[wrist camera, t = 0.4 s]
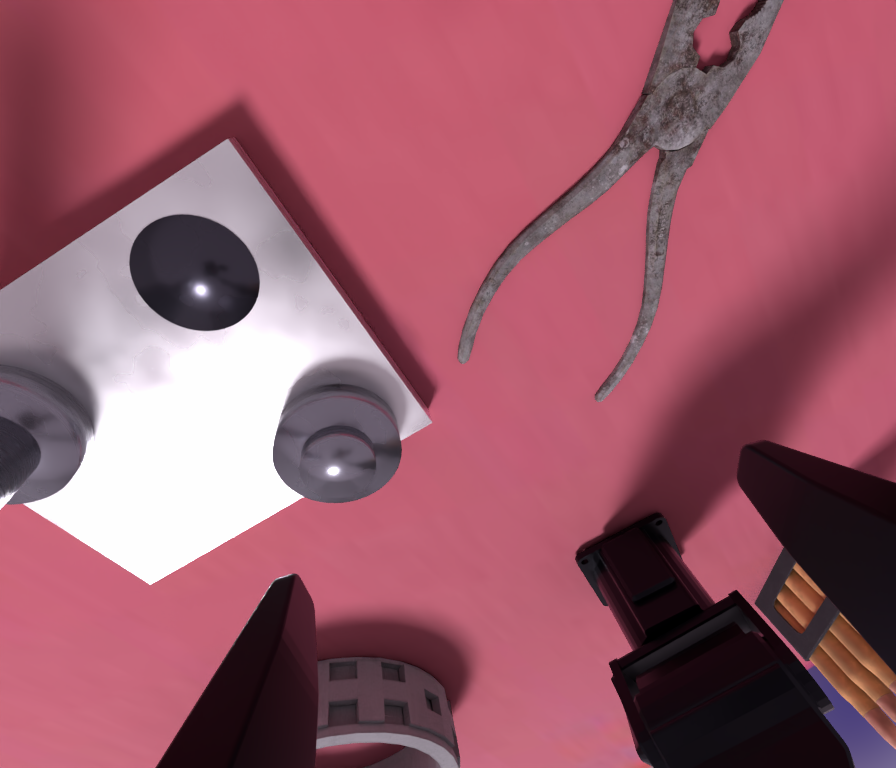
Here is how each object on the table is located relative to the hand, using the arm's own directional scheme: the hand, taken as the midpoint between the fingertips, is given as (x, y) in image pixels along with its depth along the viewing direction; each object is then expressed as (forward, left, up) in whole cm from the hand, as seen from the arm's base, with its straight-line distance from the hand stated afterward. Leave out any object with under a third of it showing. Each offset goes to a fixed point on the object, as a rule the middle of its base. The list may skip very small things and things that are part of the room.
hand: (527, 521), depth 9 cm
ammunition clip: (-34, -14, -14) cm, 40 cm away
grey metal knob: (-3, +7, -13) cm, 15 cm away
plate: (+2, +11, -14) cm, 18 cm away
